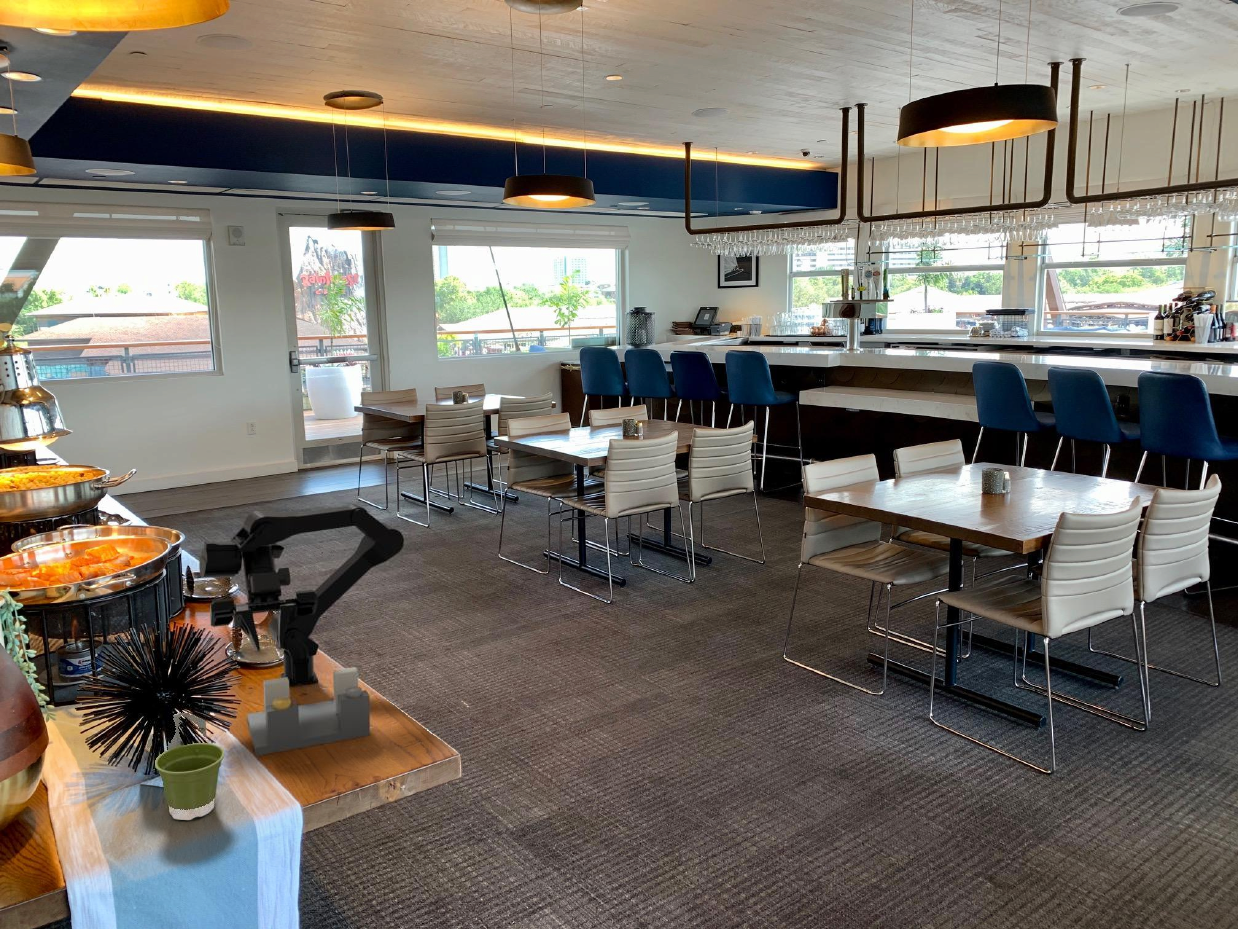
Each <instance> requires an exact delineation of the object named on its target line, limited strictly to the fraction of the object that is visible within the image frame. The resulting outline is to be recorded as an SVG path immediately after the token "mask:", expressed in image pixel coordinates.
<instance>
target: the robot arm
mask: <svg viewBox="0 0 1238 929" xmlns="http://www.w3.org/2000/svg"><path fill="white" fill-rule="evenodd" d="M367 510H368V509H367ZM367 510H366V509H365V508H364V507H363V506H361V505H360V504H356V503H351V504H348V505H343V506H336V507H335V506H334V507H328V508H321V509H314V510H313V509H312V510H306V511H299V512H297V511H296V512H285V511H276V510H255V511H251V512H250V513H249V514H248V515H247V516H246V518H245V519H244V521H243V526H242V527H241V528H240V529H239V530H238V531H237V532H236V534H235V535H234V536H233V537H232V538H231V540H230V541H229V542H228V541H227V542H225V541H224V542H222V541H219V542H218V541H209V540H208V541H204V544H203V548H202V551H201V554H200V555H199V567H198V569H199V576H200V577H201V579H214V578H215V579H216V578H217V579H218V578H234V577H235V576H236V575H239V574H240V572H241V571H242V566H243V574H244V575H243V576H244V584H245V592H246V599H247V600H246V601H247V602H238V603H235V601H234V598H232V597H231V598H224V599H215V600H212V602H211V603H210V605H209V606H210V607H209V608H210V609H209V617H210V618H209V620H210V621H209V622H210V627H213V628H215V627H217V628H218V627H223V626H230V625H231V623H233V627H234V628H237V629H238V628H239V629H241V631H242V632H243V633H244V634H245V635H246V636H247V638H248V639H249V640H250V642H251V644H252V645H253V647H254V649H255V650H256V652H260V651H261V650H260V649H261V648H260V641H259V636H258V635H259V634H258V631H257V628H256V624H255V620H254V619H255V618H254V615H255V614H262V613H263V614H264V613H270V612H271V613H272V612H276V613H273V614H272V616H273V618H272V619H271V621H270V622H269V627H268V628H269V629H268V631H269V635H270V636H271V637H272V639H273V640H274V642H275V643H276V644H277V645H278V646H279V649H282V650H283V672H281V673H280V674H279V676H280V678H285V677H287V678H288V680H289V688H290V687H295V686H296V687H298V686H303V685H309V684H316V683H319V678H318V677H317V674H316V672H315V669H314V667H315V666H314V661H315V660H314V656H317V652H318V650H319V647H320V645H319V644H318V643H317V642H316V641H315V639H313V638H312V637H311V635H312V633H313V632H314V630H315V629H316V626H317V623H318V621H319V619H320V618H321V617H322V616H323V615H324V614H325V613H326V612H328V610H329V609H330V608H331V607H332V606H333V605H335V603H337V602H338V600H340V599H341V598H342V597H343V596H344V595H345V594H346V593H347V592H348V591H349V590H350V589H351V588H352V587H353V586H354V585H355V584H357V582H359V581H360V580H361V579H362V578H363V577H364V576H365V575H366V574H367V573H368V572H369V571H370V570H371V569H372V568H374V567H376V566H378V565H379V566H380V565H381V564H384V563H386V562H388V561H390V559H392V558H394V557H395V556H397V555H398V554H400V552H401V551H402V550H403V548H404V546H405V545H404V544H405V538H404V535H403V534H402V532H401V531H400V530H398V529H397V528H395V527H393V526H391V525H389V524H388V523H384V522H381V521H379V520H378V519H376V518H375V517H374V516H373V515H372V514H371V513H369V512H368V511H367ZM350 527H355V528H356V529H358V530H359V531H360V532H361V533H362V534H363V537H362V538H361V540H360V542H359V544H358V546H357V548H356V551H355V552H354V553H353V554H352V555H351V556H350V557H349V558H348V559H347V560H346V561H345V562H344V563H342V565H341V566H339V567H338V568H337V569H335V571H334V572H332V574H331V575H329V577H327V578H326V579H325V580H324V581H323V582H322V583H321V584H320V585H319V586H318V587H317V588H316V589H315V590H314V589H307V590H298V591H294V595H293V598H286V599H281V598H280V597H282V587H284V586H290V585H291V572H290V567H280V568H278V570H277V569H276V563H275V559H280V558H281V556H282V555H283V553H284V551H285V547H284V546H282V545H281V544H278V543H280V542H283V541H285V540H288V539H289V538H292V537H294V536H296V535H300V534H301V535H302V534H307V533H308V534H309V533H314V532H320V531H321V532H322V531H329V530H334V529H335V530H336V529H341V528H342V529H343V528H350Z"/></svg>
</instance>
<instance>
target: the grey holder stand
mask: <svg viewBox="0 0 1238 929" xmlns="http://www.w3.org/2000/svg"><path fill="white" fill-rule="evenodd" d="M370 714H371V711H370V694H369V692H368V691H367V690H365V689H364V690H362V687H360V686H358V687H349V688H347V689H346V690H345V694H339V695H338V714H336V712H335V710H334V699H332V700H328V701H325V700H324V701H320V702H314V703H308V704H301V705H298V703H297V701H291V698H290V697H289V698H278V699H276V700H274V701H273V705H270V706H266V723H265V711H258V712H252V713H246V723H248V724H247V727H248V731H249V734H250V738H251V742H252V745H253V750H254V752H255V756H256V757H257V756H262V755H263V756H264V755H268V754H274V753H279V752H284V751H285V752H286V751H290V750H295V749H302V748H307V747H312V746H318V745H323V744H327V743H334V742H340V741H344V740H350V739H351V740H352V739H355V738H361V737H367V736H370V735H371V727H370V726H371V717H370V716H371V715H370Z"/></svg>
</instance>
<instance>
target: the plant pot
mask: <svg viewBox="0 0 1238 929" xmlns="http://www.w3.org/2000/svg"><path fill="white" fill-rule="evenodd" d="M224 757H225V749H224V748H223V747H222V746H219V745H218V744H213V743H194V744H187V745H182V746H178V747H175V748H172V749H170V750H167V751H165V752H163V753H162V754H160V755H159V756H158V757H157V758H156V760H155V768H156V769H157V770H158V771H159V774H160V776H161V778H162V781H163V786H164V788H163V790H164V794H165V800H166V803H167V804H168V805H169V806H170V807H172V808H174V809H180V810H181V809H182V810H183V809H184V810H188V809H189V810H190V809H195V808H199V807H202V806H205V805H206V804H209V803H210V802H211V801H213V799H214V798H215V799H216V795H217V788H218V779H219V771H220V768H221V766H222V761H223V759H224ZM168 805H167V806H168Z"/></svg>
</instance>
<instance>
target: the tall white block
mask: <svg viewBox="0 0 1238 929" xmlns="http://www.w3.org/2000/svg"><path fill="white" fill-rule="evenodd" d="M278 698H289V699H290V687H289V680H288V678H287V677H285V678H281V677H280V678H279V677H278V678H272V679H266V680H263V703H264V704H263V707H264V708H263V709H264V711H265V723H266V706H270V705H273V701H274V700H276V699H278ZM264 711H263V712H264Z"/></svg>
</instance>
